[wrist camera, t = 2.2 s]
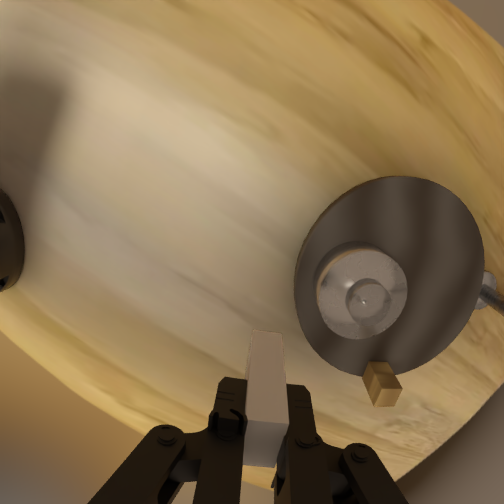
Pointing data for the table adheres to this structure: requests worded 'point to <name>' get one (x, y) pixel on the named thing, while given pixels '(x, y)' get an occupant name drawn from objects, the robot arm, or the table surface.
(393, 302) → the cover
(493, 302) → the dial post
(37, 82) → the table surface
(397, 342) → the turntable
